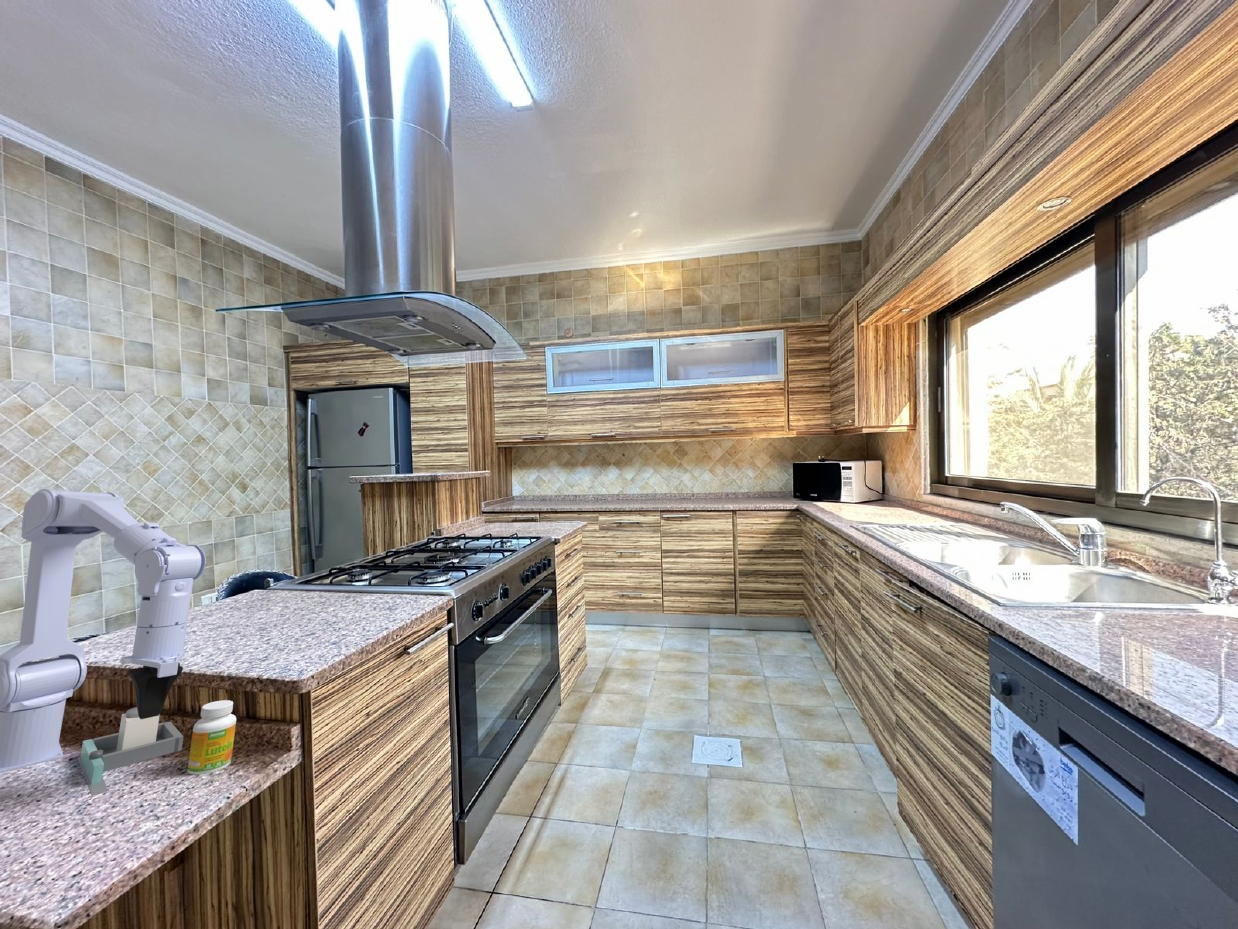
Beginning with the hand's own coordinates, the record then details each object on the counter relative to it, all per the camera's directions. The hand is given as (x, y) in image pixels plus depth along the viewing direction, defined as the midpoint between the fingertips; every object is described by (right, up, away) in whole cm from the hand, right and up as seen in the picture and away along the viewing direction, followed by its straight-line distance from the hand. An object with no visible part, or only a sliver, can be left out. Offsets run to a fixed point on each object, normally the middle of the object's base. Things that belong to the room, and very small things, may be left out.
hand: (149, 716), depth 71 cm
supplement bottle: (+5, -11, +5) cm, 13 cm away
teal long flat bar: (-12, -10, +3) cm, 15 cm away
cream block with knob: (-10, -10, +8) cm, 17 cm away
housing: (-8, -10, +5) cm, 14 cm away
